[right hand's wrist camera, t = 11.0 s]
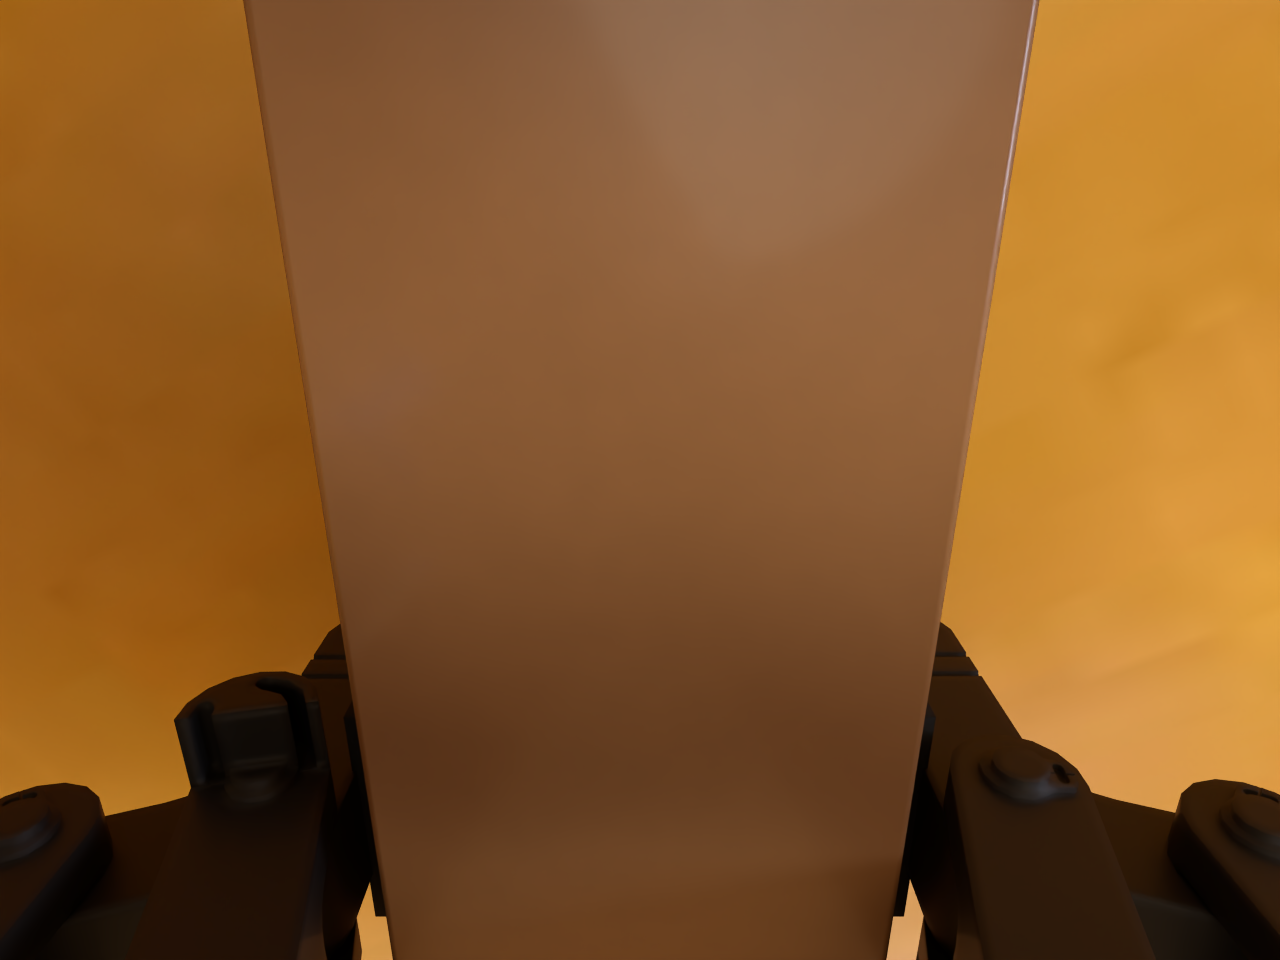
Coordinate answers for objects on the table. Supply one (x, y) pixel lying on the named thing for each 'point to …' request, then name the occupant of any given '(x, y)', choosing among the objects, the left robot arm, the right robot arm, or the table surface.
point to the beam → (640, 442)
